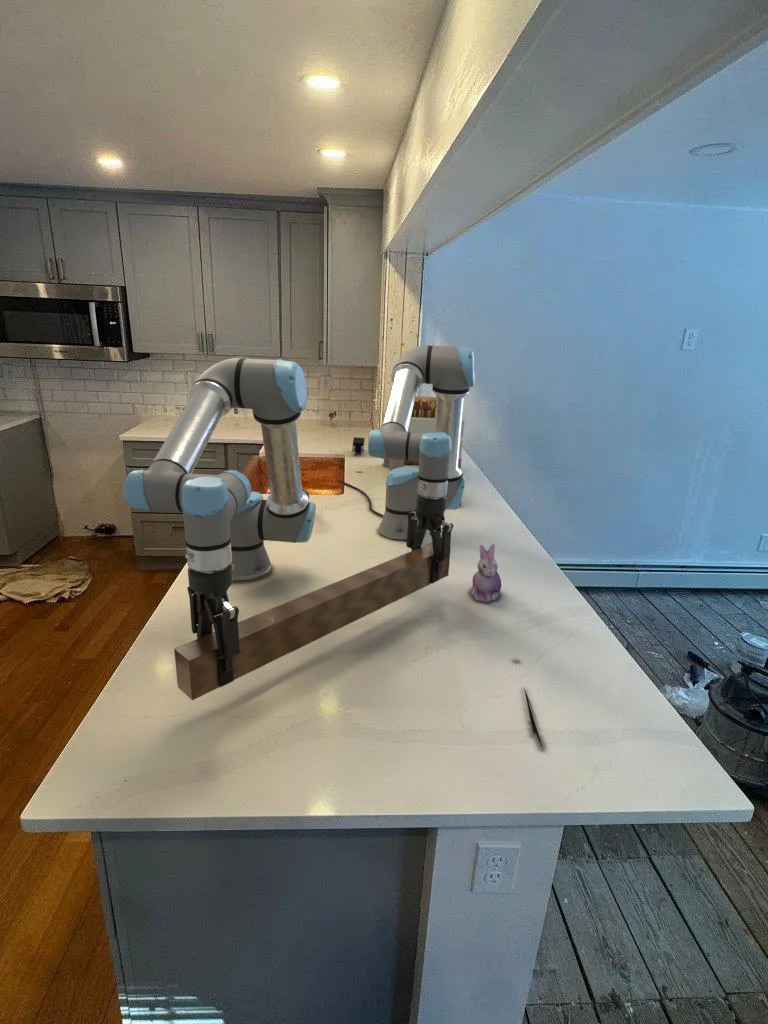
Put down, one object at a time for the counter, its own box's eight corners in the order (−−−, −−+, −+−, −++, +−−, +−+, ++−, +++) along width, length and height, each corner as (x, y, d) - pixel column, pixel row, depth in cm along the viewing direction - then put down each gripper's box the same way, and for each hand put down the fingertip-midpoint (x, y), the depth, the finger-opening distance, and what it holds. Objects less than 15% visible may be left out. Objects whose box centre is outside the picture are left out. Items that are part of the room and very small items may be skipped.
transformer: (382, 463, 289) (386, 382, 275) (445, 464, 293) (451, 384, 279) (390, 482, 257) (394, 392, 243) (460, 483, 261) (468, 394, 247)
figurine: (483, 606, 153) (489, 555, 148) (461, 589, 161) (466, 541, 156) (510, 599, 157) (517, 550, 152) (488, 583, 166) (493, 536, 161)
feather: (516, 665, 130) (521, 659, 130) (541, 751, 103) (548, 744, 103) (510, 661, 130) (515, 655, 129) (534, 747, 103) (541, 739, 103)
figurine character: (364, 459, 300) (364, 449, 314) (364, 445, 297) (365, 436, 311) (351, 458, 300) (352, 449, 314) (351, 445, 297) (352, 435, 310)
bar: (433, 569, 158) (435, 541, 155) (448, 575, 154) (450, 547, 151) (177, 687, 105) (173, 648, 102) (192, 700, 102) (188, 660, 99)
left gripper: (164, 554, 103) (175, 663, 111) (219, 590, 92) (226, 708, 99) (202, 544, 108) (209, 648, 116) (258, 576, 97) (262, 689, 105)
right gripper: (395, 489, 147) (390, 570, 154) (451, 507, 135) (444, 594, 143) (413, 483, 152) (408, 562, 160) (470, 501, 140) (461, 585, 148)
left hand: (217, 675), depth 108 cm, fingers closed on bar, 5 cm apart
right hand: (425, 577), depth 151 cm, fingers closed on bar, 5 cm apart
